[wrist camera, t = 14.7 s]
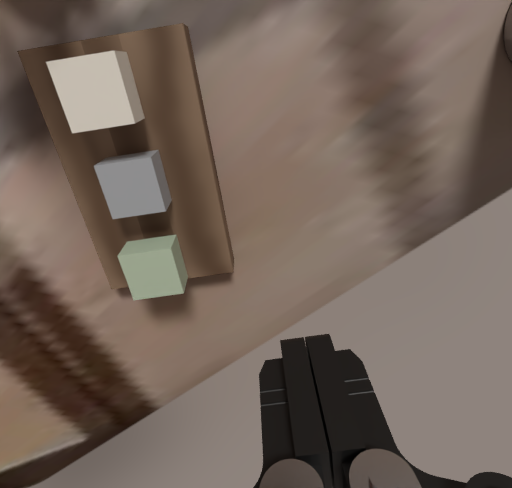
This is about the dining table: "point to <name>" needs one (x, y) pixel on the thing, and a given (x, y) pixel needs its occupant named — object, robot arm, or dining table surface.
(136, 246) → the sage key
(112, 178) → the grey squarish block
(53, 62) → the cream block
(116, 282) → the key panel
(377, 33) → the dining table surface
